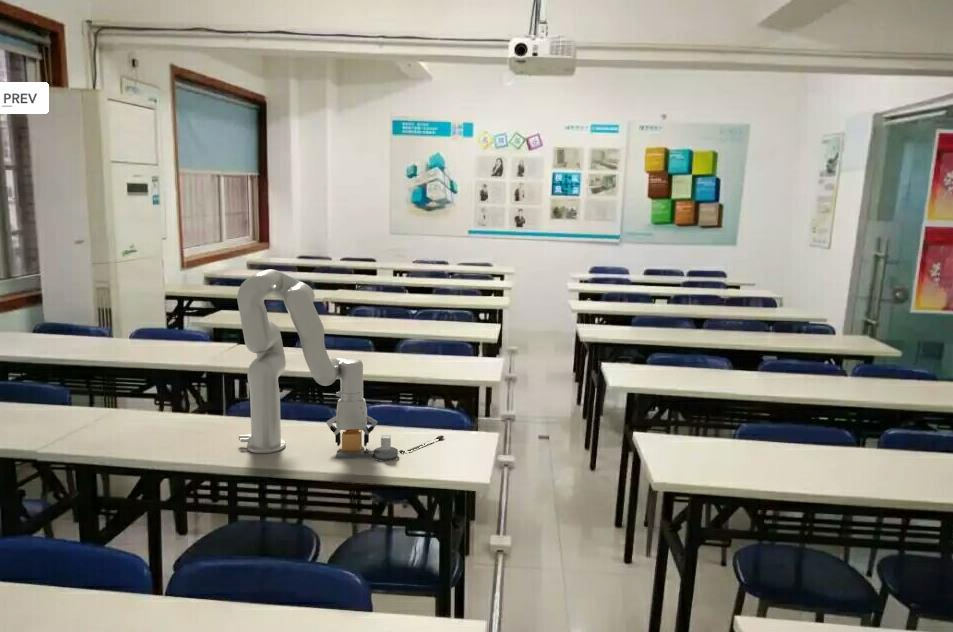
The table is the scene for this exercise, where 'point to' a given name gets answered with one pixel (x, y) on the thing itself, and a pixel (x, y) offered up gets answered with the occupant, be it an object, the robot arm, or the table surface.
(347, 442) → the socket
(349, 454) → the ratchet
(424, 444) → the tomahawk
